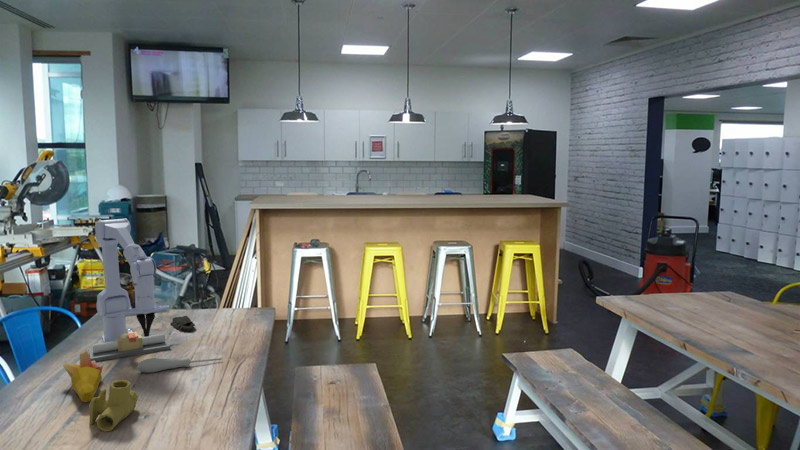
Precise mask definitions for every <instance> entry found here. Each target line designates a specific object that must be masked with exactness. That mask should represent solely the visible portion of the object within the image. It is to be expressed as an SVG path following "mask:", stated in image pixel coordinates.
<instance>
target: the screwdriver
mask: <svg viewBox="0 0 800 450" xmlns="http://www.w3.org/2000/svg"><path fill="white" fill-rule="evenodd" d="M221 360H223V358H222V357H219V358H218V357H217V358H209V359H207V358H205V359H197V360H191V359H190V357H189V356H185V357H184V358H159V357H158V358H157V357H154V358H153V357H151V358H146V359H142V360H141V361H139V363H138V364H137V371H139V372H140V373H147V374H151V373H158V372H160V371H166V370H171V369H177V368H180V367H185V368H189V367H190V365H191V364H192V363H201V362H202V363H203V362H213V361H214V362H215V361H221Z"/></svg>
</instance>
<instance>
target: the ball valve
mask: <svg viewBox="0 0 800 450" xmlns="http://www.w3.org/2000/svg"><path fill="white" fill-rule="evenodd" d="M109 385H110V386H109V392H108V399H107V389H106V388H105V387H103V388H101V390H100V391H99V394H98V395H97V396H94V397H93V398H92V400H90V401H89V402H90V403H89V405H88V409H89V425H91V426H92V425H94V424H95V423H96V426H97V428H98V429H99V430H101V431H103V432H105V433H106V432H111V431H112V430H114V429H115V427H117V425H118V424H119V423H120V422H122V421H123V420H124V419H126V418H127V417H128V416H129V415H130V414H131V413H132V412H133V411H134V410H135V409H136V407H137V401H138V400H139V399H138V398H139V395H138V394H137V392H136V391H135V390H132V389H131V385H132V383H131V382H130V381H129V380H126V379H119V380H114V381H112V382H111V384H109ZM94 422H95V423H94Z"/></svg>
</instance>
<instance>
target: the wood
mask: <svg viewBox="0 0 800 450" xmlns="http://www.w3.org/2000/svg"><path fill="white" fill-rule="evenodd" d="M171 319H172V322H170V325H171V326H172V328H173V329H175V330H178V332H181V333H191V332H192V329H193V328H194V327H195V326H196V324H195V323H193V321H191V319H190V317H188V315H183V316H175V317H172V318H171Z"/></svg>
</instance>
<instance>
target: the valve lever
mask: <svg viewBox="0 0 800 450" xmlns="http://www.w3.org/2000/svg"><path fill="white" fill-rule="evenodd" d="M133 332H134V328H132V327H130V328H126V329H125V333H127V334H128V340H129V342H137V341H136V335H135V333H133Z"/></svg>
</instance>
